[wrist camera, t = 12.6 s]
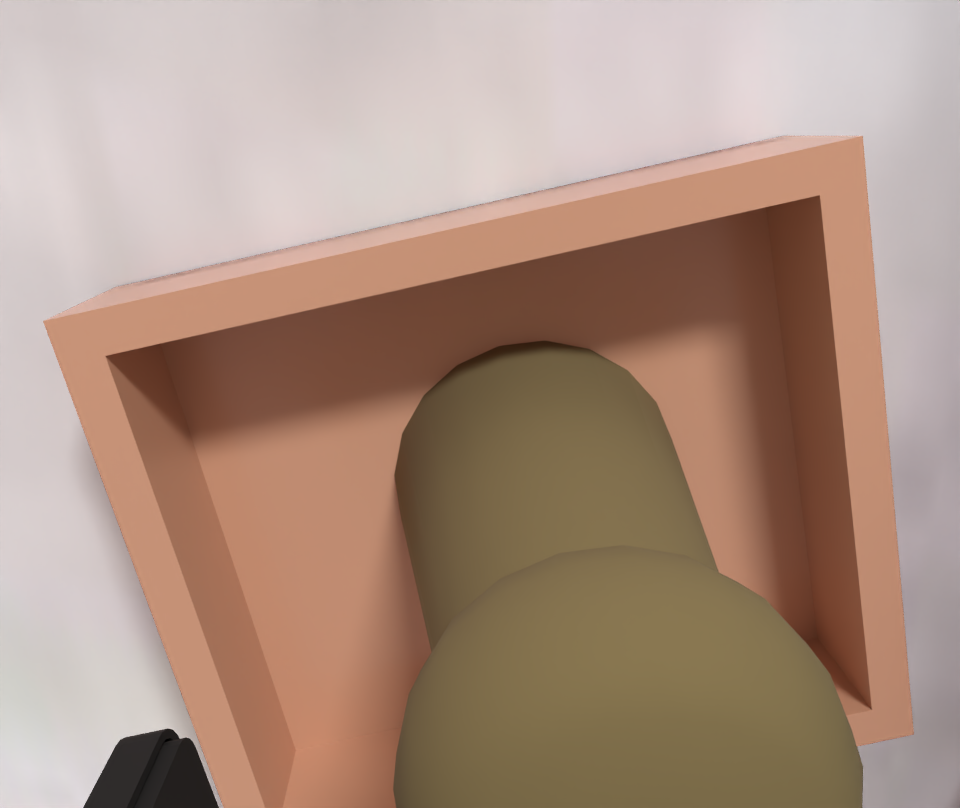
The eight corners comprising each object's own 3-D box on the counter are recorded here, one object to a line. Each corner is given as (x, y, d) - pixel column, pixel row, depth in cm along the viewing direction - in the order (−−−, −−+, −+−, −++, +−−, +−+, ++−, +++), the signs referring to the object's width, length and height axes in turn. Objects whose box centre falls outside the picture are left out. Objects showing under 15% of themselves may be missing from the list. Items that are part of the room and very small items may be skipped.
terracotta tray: (783, 135, 18) (862, 135, 15) (839, 641, 22) (914, 734, 18) (115, 287, 18) (43, 321, 15) (278, 762, 22) (249, 876, 18)
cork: (609, 635, 20) (795, 1174, 10) (356, 556, 19) (262, 1054, 9) (721, 396, 19) (1084, 730, 8) (451, 299, 18) (471, 532, 7)
